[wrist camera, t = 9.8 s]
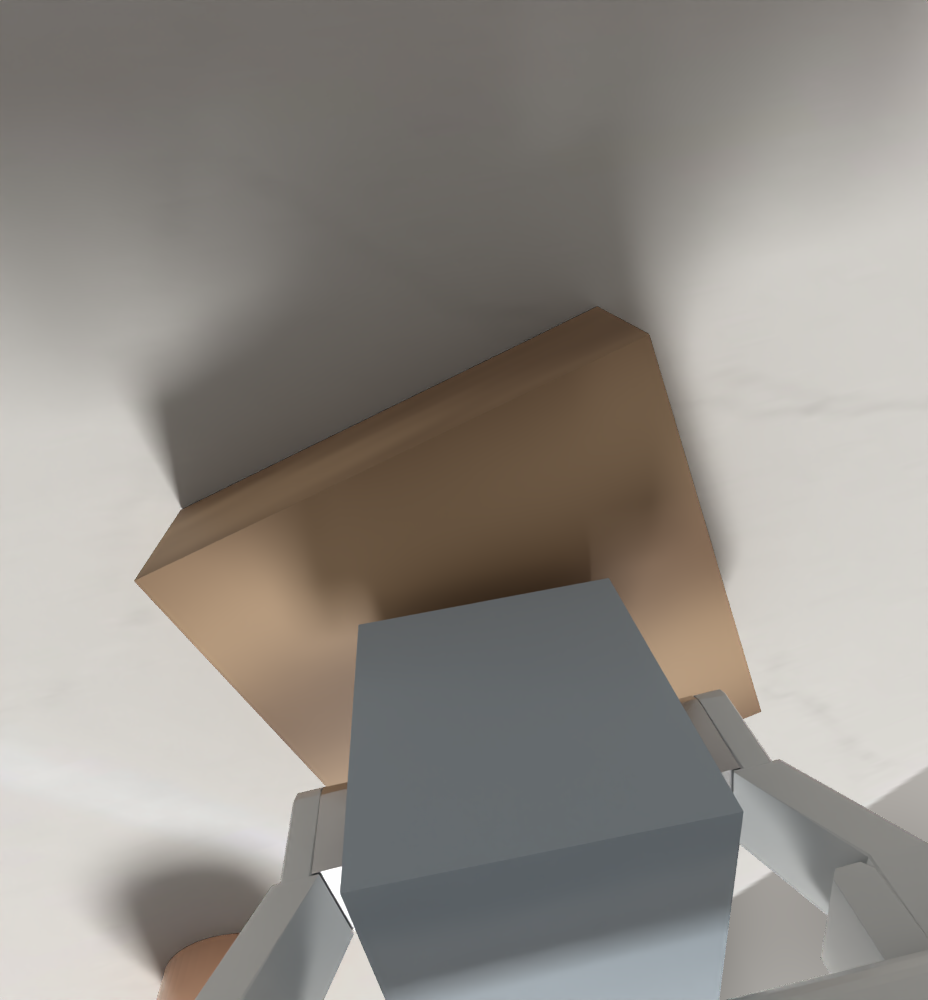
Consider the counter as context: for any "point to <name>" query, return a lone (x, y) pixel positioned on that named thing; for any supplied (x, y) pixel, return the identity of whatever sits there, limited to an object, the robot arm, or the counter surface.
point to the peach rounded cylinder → (193, 967)
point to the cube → (533, 809)
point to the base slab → (455, 531)
